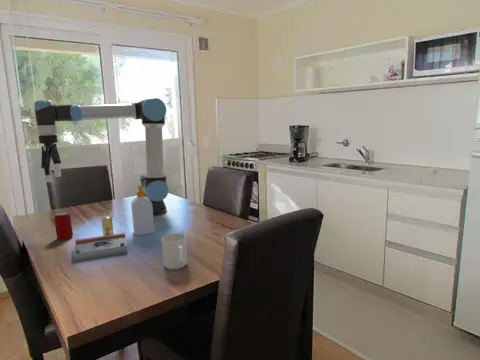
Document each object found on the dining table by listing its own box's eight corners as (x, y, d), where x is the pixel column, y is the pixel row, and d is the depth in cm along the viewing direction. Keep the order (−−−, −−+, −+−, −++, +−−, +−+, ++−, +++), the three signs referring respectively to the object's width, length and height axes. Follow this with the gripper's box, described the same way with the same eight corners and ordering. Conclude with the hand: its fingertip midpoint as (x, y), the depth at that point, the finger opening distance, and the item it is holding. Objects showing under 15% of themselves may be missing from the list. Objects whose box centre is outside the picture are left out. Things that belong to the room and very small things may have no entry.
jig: (125, 241, 150) (124, 232, 149) (127, 252, 137) (126, 243, 136) (76, 248, 142) (75, 239, 142) (74, 261, 130) (72, 251, 129)
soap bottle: (152, 228, 166) (148, 183, 162) (154, 232, 160) (150, 186, 155) (133, 231, 163) (129, 185, 158) (135, 235, 156) (130, 188, 152)
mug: (160, 263, 126) (158, 236, 123) (182, 258, 130) (180, 231, 128) (170, 276, 115) (168, 246, 113) (194, 269, 120) (192, 240, 118)
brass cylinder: (113, 235, 157) (111, 215, 155) (114, 238, 153) (111, 217, 151) (103, 237, 156) (101, 216, 154) (103, 240, 152) (101, 219, 150)
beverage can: (76, 236, 158) (73, 211, 155) (64, 241, 151) (61, 216, 149) (65, 234, 160) (62, 210, 158) (53, 239, 154) (50, 214, 151)
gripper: (47, 133, 166) (53, 175, 170) (28, 136, 142) (35, 184, 146) (63, 133, 167) (69, 174, 171) (47, 135, 143) (54, 183, 147)
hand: (53, 179), depth 158 cm, fingers open, 13 cm apart
